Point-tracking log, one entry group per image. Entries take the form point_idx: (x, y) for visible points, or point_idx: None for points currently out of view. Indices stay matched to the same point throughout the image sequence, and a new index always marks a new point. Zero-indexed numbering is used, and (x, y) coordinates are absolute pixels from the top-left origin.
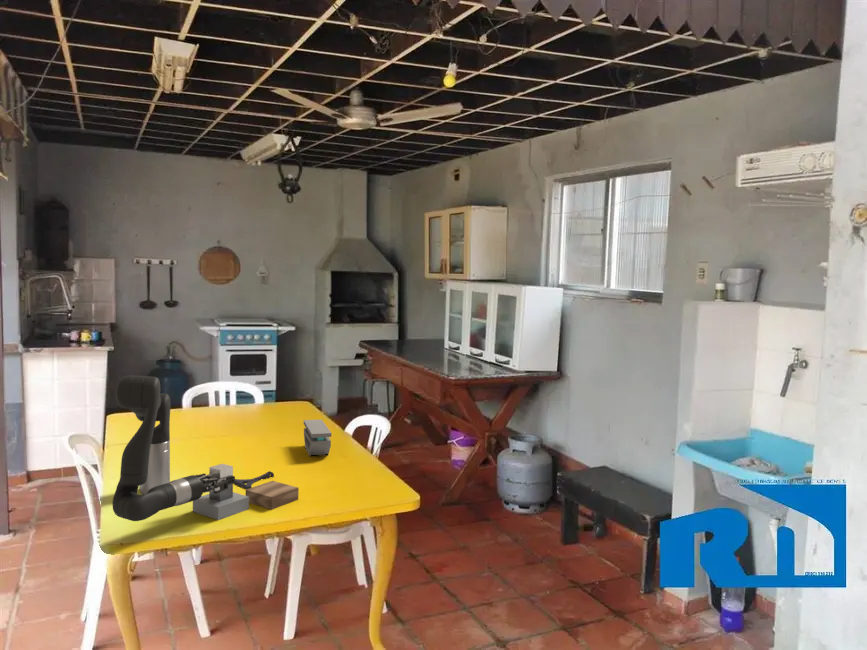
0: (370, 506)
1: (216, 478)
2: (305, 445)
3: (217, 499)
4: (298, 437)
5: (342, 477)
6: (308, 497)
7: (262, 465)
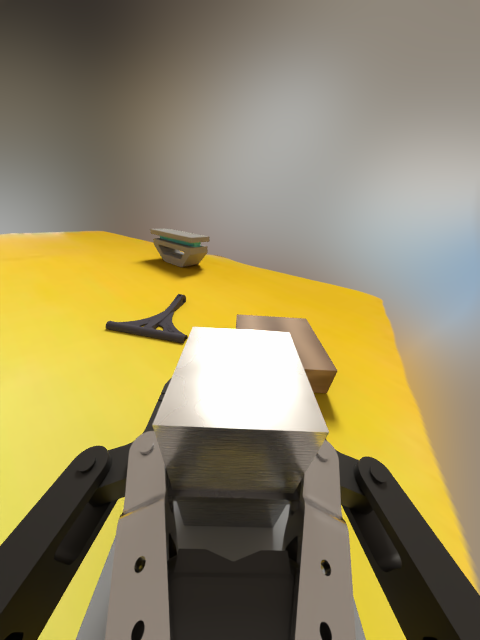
0: (387, 319)
1: (324, 527)
2: (163, 257)
3: (253, 525)
4: (138, 252)
5: (263, 284)
6: None
7: (141, 286)
